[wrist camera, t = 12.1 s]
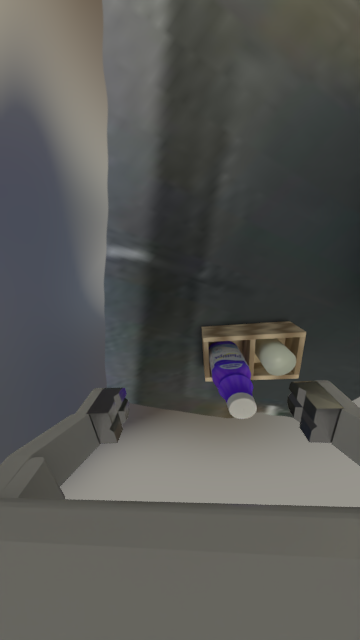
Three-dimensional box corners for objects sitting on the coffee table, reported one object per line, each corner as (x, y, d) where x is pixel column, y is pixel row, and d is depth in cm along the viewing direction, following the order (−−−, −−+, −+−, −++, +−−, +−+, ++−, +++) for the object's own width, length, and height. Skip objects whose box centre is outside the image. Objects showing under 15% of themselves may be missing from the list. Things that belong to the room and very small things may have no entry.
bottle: (237, 337, 40) (268, 392, 24) (238, 358, 42) (267, 422, 26) (206, 340, 41) (215, 396, 25) (208, 361, 43) (218, 424, 27)
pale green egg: (280, 333, 39) (298, 349, 33) (277, 356, 41) (294, 375, 35) (253, 335, 40) (265, 350, 33) (252, 357, 42) (263, 376, 35)
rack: (289, 321, 39) (306, 332, 33) (284, 362, 43) (298, 378, 37) (201, 326, 41) (203, 337, 35) (203, 365, 45) (205, 381, 39)
